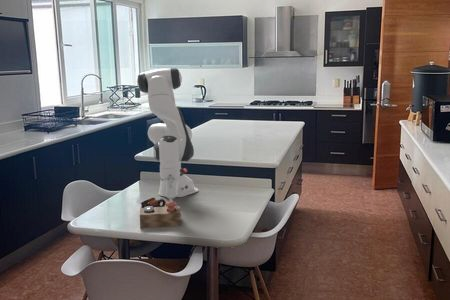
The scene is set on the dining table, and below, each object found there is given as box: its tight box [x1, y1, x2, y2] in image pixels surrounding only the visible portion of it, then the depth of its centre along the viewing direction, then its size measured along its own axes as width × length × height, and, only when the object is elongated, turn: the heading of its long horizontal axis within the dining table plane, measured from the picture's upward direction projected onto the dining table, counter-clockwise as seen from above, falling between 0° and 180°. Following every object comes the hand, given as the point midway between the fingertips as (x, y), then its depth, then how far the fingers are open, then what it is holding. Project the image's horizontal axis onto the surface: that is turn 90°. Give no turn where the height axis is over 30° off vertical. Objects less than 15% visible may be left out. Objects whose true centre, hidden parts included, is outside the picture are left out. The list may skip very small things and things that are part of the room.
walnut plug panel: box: [139, 205, 182, 229], centre depth 211 cm, size 18×10×6 cm, turn 98°
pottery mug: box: [140, 197, 167, 208], centre depth 227 cm, size 12×10×8 cm
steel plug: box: [144, 206, 154, 212], centre depth 210 cm, size 5×5×7 cm
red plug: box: [165, 200, 177, 211], centre depth 211 cm, size 5×5×7 cm
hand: (170, 202), depth 210 cm, fingers closed, pressing on red plug
